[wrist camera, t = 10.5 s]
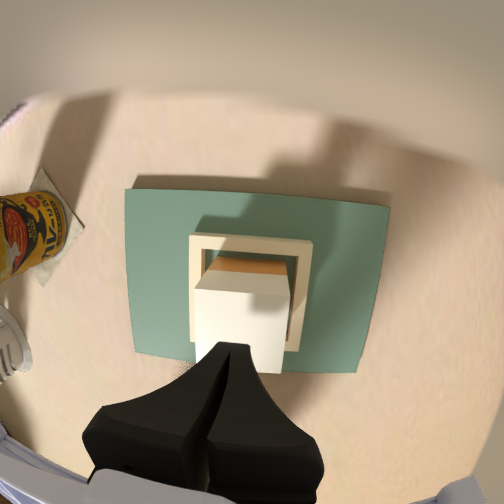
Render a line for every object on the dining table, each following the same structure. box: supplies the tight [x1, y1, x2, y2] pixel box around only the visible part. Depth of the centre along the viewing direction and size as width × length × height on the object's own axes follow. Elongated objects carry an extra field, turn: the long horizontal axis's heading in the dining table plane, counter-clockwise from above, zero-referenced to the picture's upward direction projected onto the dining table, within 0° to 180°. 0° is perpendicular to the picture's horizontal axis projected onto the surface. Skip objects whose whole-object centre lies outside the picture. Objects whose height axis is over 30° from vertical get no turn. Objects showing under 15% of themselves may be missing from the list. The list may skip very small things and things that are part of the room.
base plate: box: [125, 189, 390, 373], centre depth 20 cm, size 18×13×2 cm
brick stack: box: [194, 256, 290, 374], centre depth 17 cm, size 4×4×6 cm
